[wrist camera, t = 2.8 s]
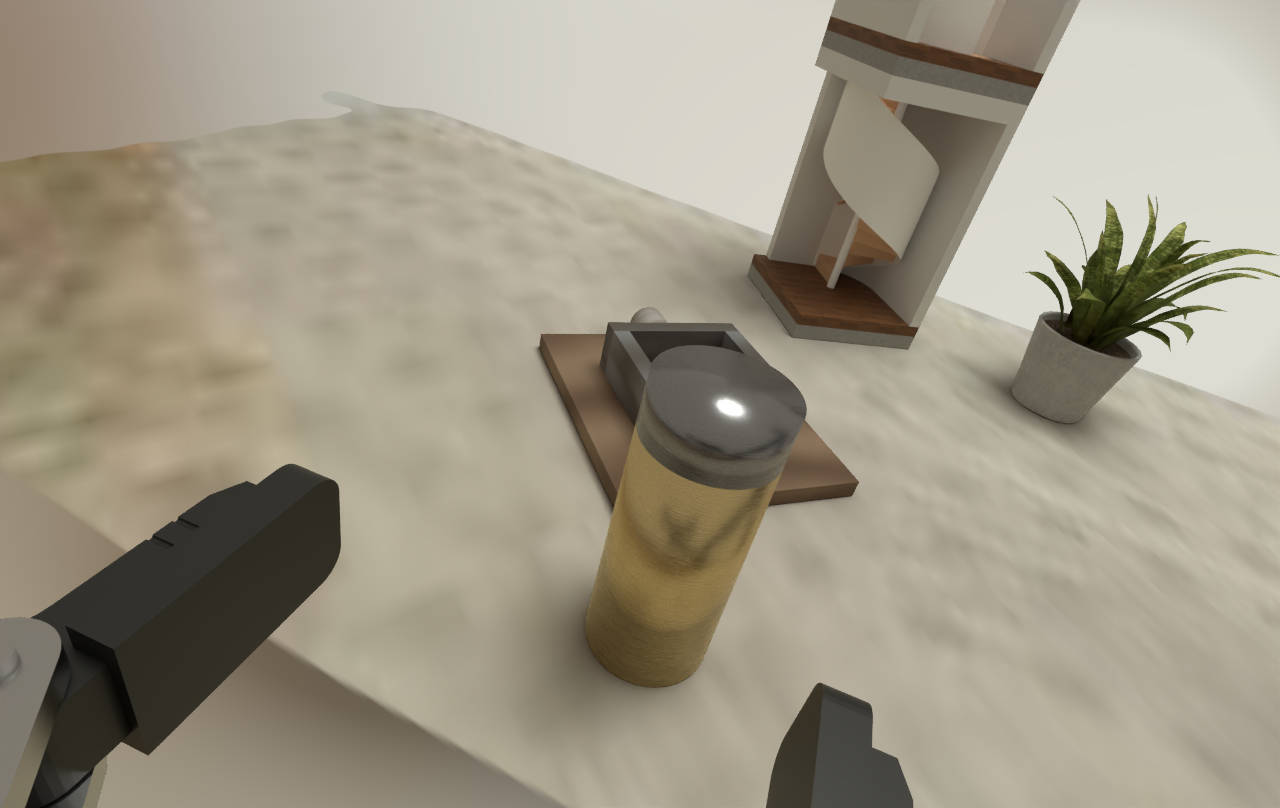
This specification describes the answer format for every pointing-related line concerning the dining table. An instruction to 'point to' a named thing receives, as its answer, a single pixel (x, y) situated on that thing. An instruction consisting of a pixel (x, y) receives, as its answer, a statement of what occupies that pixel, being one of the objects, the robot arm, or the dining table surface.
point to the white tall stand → (900, 158)
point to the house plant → (1107, 318)
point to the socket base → (614, 385)
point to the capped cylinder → (688, 508)
